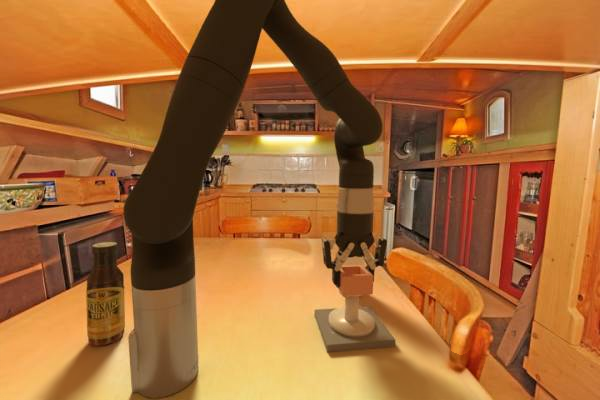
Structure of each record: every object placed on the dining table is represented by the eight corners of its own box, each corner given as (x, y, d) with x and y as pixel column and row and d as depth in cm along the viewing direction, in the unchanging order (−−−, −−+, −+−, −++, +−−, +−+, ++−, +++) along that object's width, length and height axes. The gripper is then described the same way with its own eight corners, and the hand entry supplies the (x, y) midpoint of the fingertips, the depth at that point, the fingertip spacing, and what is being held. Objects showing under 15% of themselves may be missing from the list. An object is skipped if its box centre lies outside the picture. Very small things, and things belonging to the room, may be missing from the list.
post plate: (327, 352, 51) (327, 315, 50) (314, 315, 63) (315, 285, 63) (395, 346, 52) (397, 311, 52) (369, 312, 65) (370, 283, 64)
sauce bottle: (83, 351, 50) (74, 250, 48) (93, 333, 56) (86, 242, 53) (124, 343, 53) (117, 246, 50) (130, 326, 58) (124, 239, 56)
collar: (342, 295, 53) (343, 277, 53) (334, 282, 60) (334, 265, 59) (372, 294, 54) (373, 275, 54) (361, 281, 61) (362, 264, 60)
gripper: (325, 212, 50) (324, 295, 52) (396, 211, 52) (392, 291, 54) (318, 207, 58) (317, 279, 60) (379, 206, 60) (377, 276, 62)
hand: (353, 284), depth 57 cm, fingers closed on collar, 6 cm apart
